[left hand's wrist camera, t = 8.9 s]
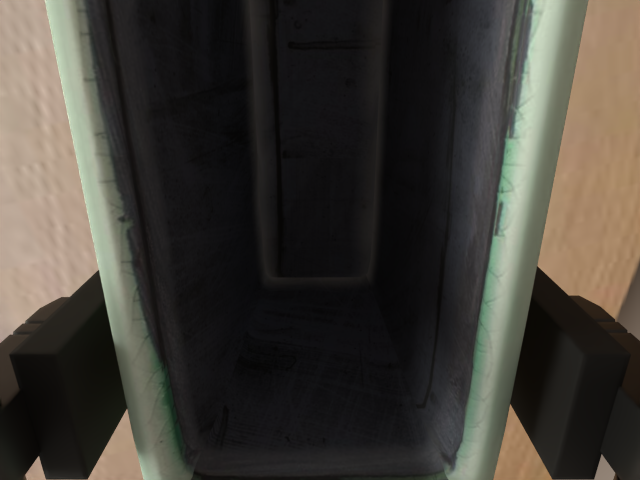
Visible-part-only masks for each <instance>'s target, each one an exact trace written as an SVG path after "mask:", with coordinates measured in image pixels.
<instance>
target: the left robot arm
mask: <svg viewBox="0 0 640 480" xmlns="http://www.w3.org/2000/svg"><path fill="white" fill-rule="evenodd" d="M510 404H511V406H512V408H513V409H514V411H515V413H516V415H517V416H518V418H519V420H520V422H521V424H522V425H523V427H524V429H525V431H526V433H527V434H528V436H529V438H530V440H531V442H532V443H533V445H534V447H535V449H536V451H537V452H538V454H539V456H540V458H541V460H542V461H543V463H544V465H545V467H546V468H547V470H548V472H549V474H550V476H551V477H552V479H594V478H595V474H596V471H597V467H598V464H599V461H600V458H601V454H602V455H603V456H604V458H605V459H606V460H607V462H608V463H609V465H610V466H611V467H612V469H613V470H614V472H615V476H614V480H640V341H639V340H638V339H637V338H636V337H634V336H633V335H632V334H631V333H627V330H626V329H625V328H624V327H623V326H622V325H621V324H620V323H618V322H615V319H614V318H613V317H612V316H610V315H609V314H608V313H607V312H606V311H605V310H604V309H602V308H601V307H600V306H598V305H596V304H594V303H592V302H590V301H588V300H586V299H584V298H583V297H581V296H568V295H567V294H566V293H565V292H564V291H563V290H562V289H561V288H560V287H559V286H558V285H557V284H556V283H555V282H554V281H552V280H551V279H550V278H549V277H548V276H547V275H546V274H545V273H544V272H543V271H542V270H541V269H540V268H539V267H538V266H537V269H536V274H535V280H534V285H533V290H532V295H531V300H530V305H529V311H528V316H527V321H526V326H525V331H524V336H523V341H522V346H521V351H520V356H519V361H518V366H517V371H516V376H515V381H514V386H513V391H512V396H511V401H510ZM126 409H127V404H126V399H125V394H124V390H123V385H122V380H121V375H120V370H119V365H118V361H117V356H116V351H115V346H114V341H113V336H112V332H111V327H110V322H109V317H108V312H107V307H106V302H105V297H104V292H103V287H102V282H101V277H100V272H99V270H98V271H97V272H96V273H95V274H94V275H93V276H92V277H91V278H90V279H89V280H88V281H86V282H85V283H84V284H83V285H82V286H81V287H80V288H79V289H78V290H77V291H76V292H75V293H74V294H73V295H72V296H71V297H61V298H59V299H57V300H55V301H53V302H51V303H49V304H47V305H45V306H44V307H42V308H40V309H39V310H38V311H36V312H35V313H34V314H33V315H32V316H31V317H30V318H28V319H27V320H26V323H25V324H22V325H21V326H19V327H18V328H17V329H16V330H15V331H14V332H13V335H9V336H8V337H7V338H6V339H5V340H3V341H2V342H1V343H0V480H26V476H25V474H26V473H27V471H28V470H29V469H30V467H31V466H32V464H33V463H34V462H35V460H36V459H37V457H38V456H39V457H40V461H41V464H42V468H43V471H44V474H45V478H46V479H88V477H89V476H90V474H91V472H92V470H93V468H94V467H95V465H96V463H97V461H98V460H99V458H100V456H101V454H102V452H103V451H104V449H105V447H106V445H107V443H108V442H109V440H110V438H111V436H112V434H113V433H114V431H115V429H116V427H117V425H118V424H119V422H120V420H121V418H122V416H123V415H124V413H125V411H126Z"/></svg>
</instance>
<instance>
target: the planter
mask: <svg viewBox="0 0 640 480" xmlns="http://www.w3.org/2000/svg"><path fill="white" fill-rule="evenodd" d="M45 4H46V9H47V14H48V19H49V24H50V29H51V34H52V39H53V44H54V49H55V54H56V59H57V64H58V69H59V74H60V79H61V84H62V89H63V94H64V99H65V104H66V108H67V113H68V118H69V123H70V128H71V133H72V138H73V143H74V148H75V153H76V158H77V163H78V168H79V173H80V178H81V183H82V188H83V193H84V198H85V203H86V208H87V213H88V218H89V223H90V228H91V233H92V238H93V242H94V247H95V252H96V257H97V262H98V267H99V272H100V277H101V282H102V287H103V292H104V297H105V302H106V307H107V312H108V317H109V322H110V327H111V332H112V336H113V341H114V346H115V351H116V356H117V361H118V365H119V370H120V375H121V380H122V385H123V390H124V394H125V399H126V404H127V409H128V414H129V418H130V423H131V428H132V433H133V437H134V441H135V446H136V450H137V454H138V458H139V462H140V466H141V470H142V474H143V478H144V480H493V478H494V474H495V469H496V465H497V461H498V457H499V453H500V448H501V444H502V440H503V436H504V432H505V427H506V422H507V417H508V412H509V406H510V401H511V396H512V391H513V386H514V381H515V376H516V371H517V366H518V361H519V356H520V351H521V346H522V341H523V336H524V331H525V326H526V321H527V316H528V311H529V305H530V300H531V295H532V290H533V285H534V280H535V274H536V269H537V264H538V259H539V254H540V248H541V243H542V238H543V233H544V228H545V223H546V217H547V212H548V207H549V202H550V197H551V191H552V186H553V181H554V176H555V171H556V166H557V160H558V155H559V150H560V145H561V140H562V134H563V129H564V124H565V119H566V114H567V109H568V103H569V98H570V93H571V88H572V83H573V78H574V72H575V67H576V62H577V57H578V51H579V46H580V41H581V36H582V31H583V25H584V20H585V15H586V10H587V4H588V0H45Z"/></svg>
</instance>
